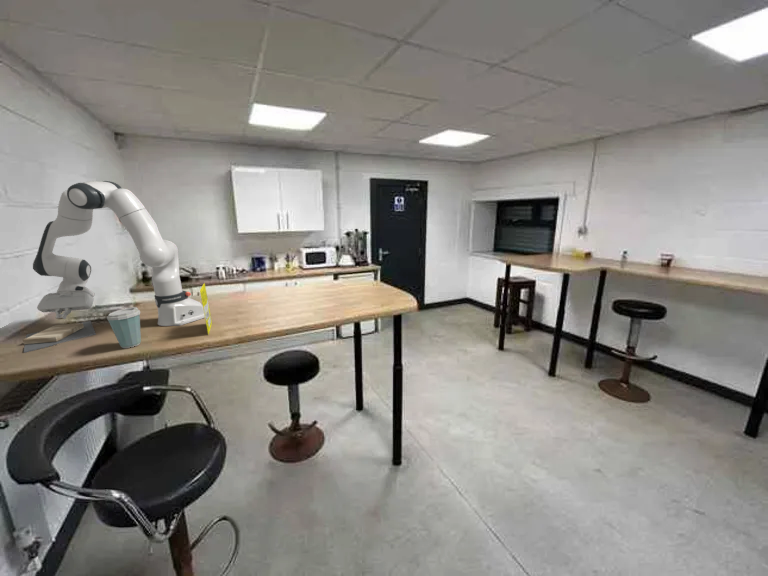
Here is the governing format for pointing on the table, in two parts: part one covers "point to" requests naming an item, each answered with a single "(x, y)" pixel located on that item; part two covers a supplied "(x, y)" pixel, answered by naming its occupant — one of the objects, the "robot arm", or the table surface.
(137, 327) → the disposable coffee cup
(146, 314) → the table surface
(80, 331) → the charcoal mat
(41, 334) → the ash tile
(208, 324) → the food package
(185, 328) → the table surface
